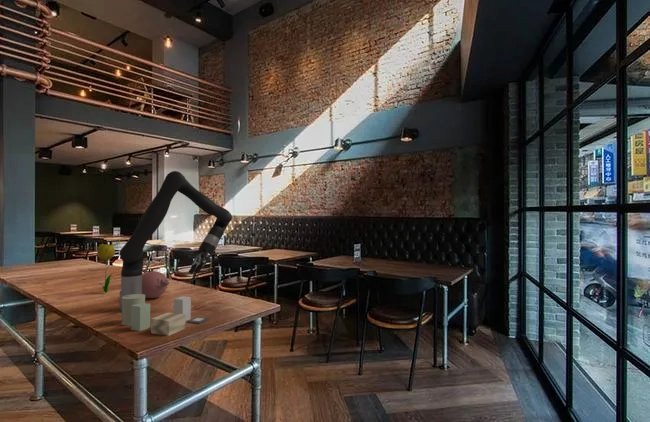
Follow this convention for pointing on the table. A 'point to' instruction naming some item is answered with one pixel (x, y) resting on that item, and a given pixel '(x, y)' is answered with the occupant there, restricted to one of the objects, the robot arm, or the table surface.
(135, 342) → the table surface
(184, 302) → the grey block
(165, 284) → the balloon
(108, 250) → the flower
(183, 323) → the base block
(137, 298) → the can
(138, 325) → the sage block
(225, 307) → the table surface
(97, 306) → the table surface
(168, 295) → the table surface
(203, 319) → the card
